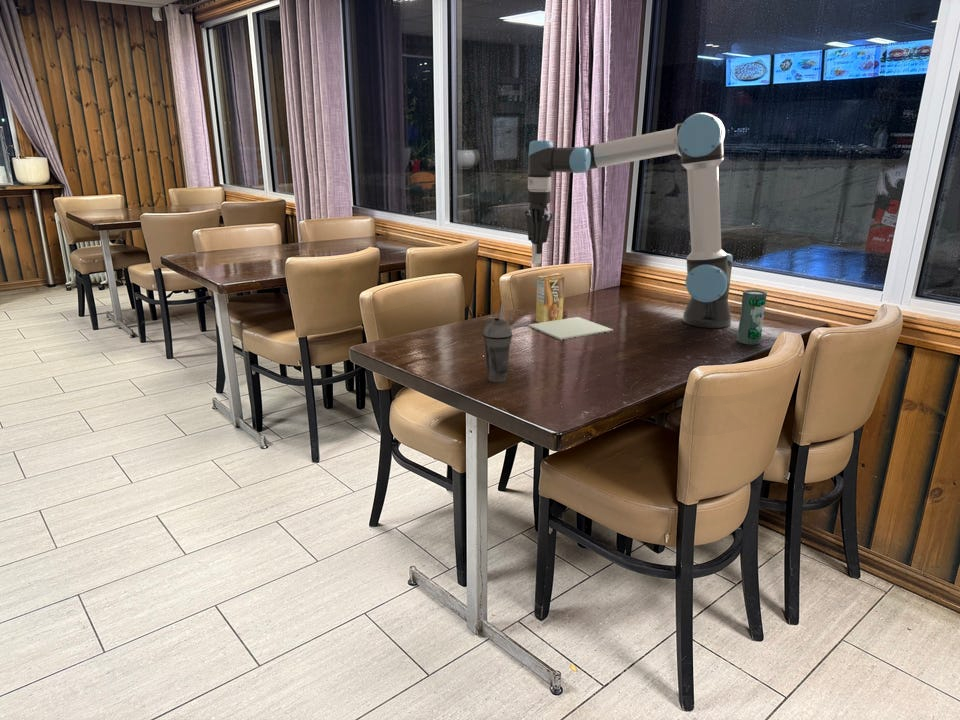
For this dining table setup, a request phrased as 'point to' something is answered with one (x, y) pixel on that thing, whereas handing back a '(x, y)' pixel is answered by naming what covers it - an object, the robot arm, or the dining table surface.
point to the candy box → (549, 297)
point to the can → (751, 316)
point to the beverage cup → (497, 347)
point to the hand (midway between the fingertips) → (536, 263)
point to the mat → (570, 328)
